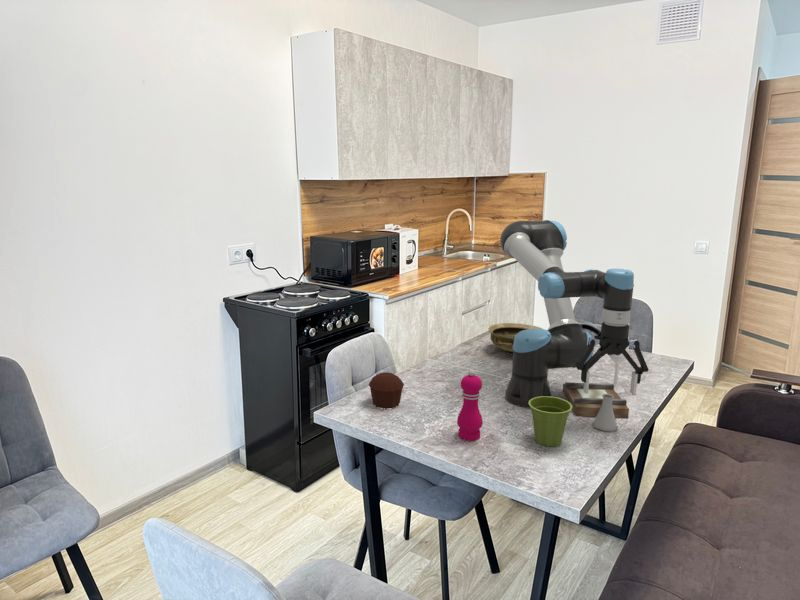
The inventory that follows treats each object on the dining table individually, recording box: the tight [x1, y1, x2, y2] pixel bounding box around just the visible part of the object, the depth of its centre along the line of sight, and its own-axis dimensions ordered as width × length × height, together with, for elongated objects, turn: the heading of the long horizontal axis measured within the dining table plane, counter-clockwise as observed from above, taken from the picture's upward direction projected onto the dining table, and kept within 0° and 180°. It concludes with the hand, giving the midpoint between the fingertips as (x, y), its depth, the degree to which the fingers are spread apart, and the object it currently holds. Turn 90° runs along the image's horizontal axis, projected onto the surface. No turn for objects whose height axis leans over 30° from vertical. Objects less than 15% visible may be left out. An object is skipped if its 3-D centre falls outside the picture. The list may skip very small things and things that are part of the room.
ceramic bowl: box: [488, 322, 543, 356], centre depth 235 cm, size 30×24×10 cm
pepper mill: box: [456, 369, 483, 442], centre depth 159 cm, size 7×7×20 cm
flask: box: [592, 394, 618, 432], centre depth 167 cm, size 7×7×10 cm
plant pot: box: [529, 396, 573, 447], centre depth 157 cm, size 12×12×11 cm
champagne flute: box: [608, 323, 630, 394], centre depth 194 cm, size 7×7×24 cm
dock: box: [561, 381, 630, 419], centre depth 184 cm, size 16×20×4 cm
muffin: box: [368, 371, 405, 410], centre depth 182 cm, size 12×11×10 cm
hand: (609, 393), depth 165 cm, fingers open, 13 cm apart
